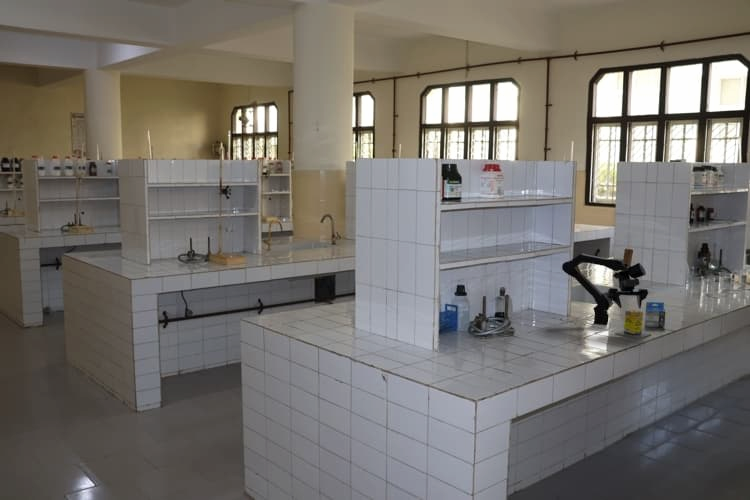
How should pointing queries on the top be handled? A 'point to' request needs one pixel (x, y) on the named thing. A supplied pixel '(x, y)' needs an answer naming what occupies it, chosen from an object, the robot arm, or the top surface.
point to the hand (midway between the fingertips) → (630, 308)
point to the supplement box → (633, 322)
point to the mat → (633, 335)
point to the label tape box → (655, 315)
